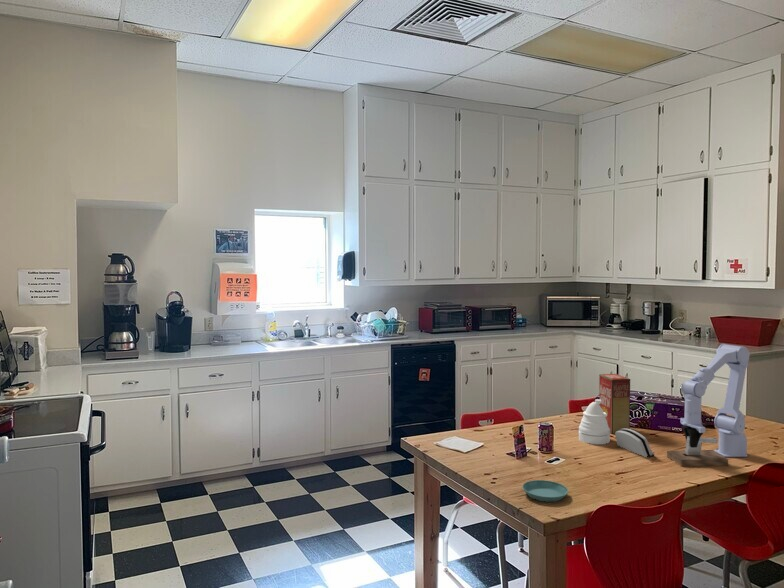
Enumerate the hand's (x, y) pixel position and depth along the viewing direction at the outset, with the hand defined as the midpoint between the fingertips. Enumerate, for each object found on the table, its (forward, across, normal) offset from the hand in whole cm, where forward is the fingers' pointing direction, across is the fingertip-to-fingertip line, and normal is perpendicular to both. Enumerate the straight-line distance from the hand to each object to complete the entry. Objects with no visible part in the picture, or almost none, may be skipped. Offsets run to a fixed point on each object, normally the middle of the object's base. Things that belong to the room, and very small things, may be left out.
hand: (692, 446), depth 227 cm
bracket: (+4, 0, +3) cm, 5 cm away
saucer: (+7, +31, -66) cm, 74 cm away
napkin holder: (+6, -13, -17) cm, 22 cm away
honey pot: (+6, -29, -28) cm, 40 cm away
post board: (+6, 0, +2) cm, 6 cm away
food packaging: (+6, -44, -12) cm, 46 cm away
